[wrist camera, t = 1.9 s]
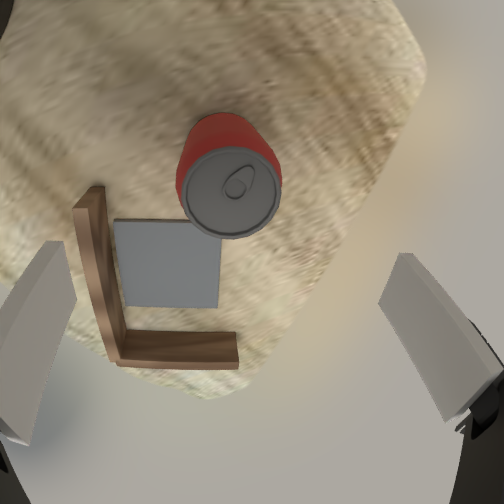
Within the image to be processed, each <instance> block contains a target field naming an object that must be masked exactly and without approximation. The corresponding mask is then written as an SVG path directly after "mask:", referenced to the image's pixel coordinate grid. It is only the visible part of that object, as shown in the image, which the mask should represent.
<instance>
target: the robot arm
mask: <svg viewBox="0 0 504 504" xmlns="http://www.w3.org/2000/svg"><path fill="white" fill-rule="evenodd" d="M12 4H13V0H0V37H1V35H2V33H3V31H4V28H5V26H6V23H7V21H8V18H9V15H10V12H11V8H12ZM76 301H77V297H76V294H75V290H74V286H73V282H72V278H71V274H70V270H69V266H68V261H67V257H66V252H65V248H64V243H63V241H46V242H45V243H44V244H43V246H42V247H41V248H40V250H39V251H38V252H37V254H36V255H35V257H34V258H33V259H32V261H31V262H30V264H29V265H28V267H27V268H26V270H25V271H24V272H23V274H22V275H21V277H20V278H19V280H18V281H17V283H16V285H15V286H14V288H13V289H12V291H11V292H10V294H9V296H8V297H7V299H6V300H5V302H4V304H3V305H2V307H1V309H0V431H1V432H2V433H3V434H4V435H5V436H6V437H7V438H8V439H9V440H11V441H14V442H17V443H20V444H23V445H26V446H30V441H31V436H32V433H33V428H34V424H35V421H36V417H37V413H38V409H39V405H40V402H41V399H42V395H43V391H44V388H45V385H46V382H47V379H48V376H49V373H50V370H51V367H52V364H53V361H54V358H55V355H56V352H57V349H58V346H59V344H60V341H61V338H62V336H63V333H64V331H65V328H66V325H67V323H68V320H69V318H70V316H71V313H72V311H73V308H74V306H75V304H76ZM378 304H379V306H380V307H381V309H382V311H383V312H384V314H385V315H386V317H387V319H388V320H389V322H390V324H391V325H392V327H393V329H394V330H395V332H396V334H397V335H398V337H399V339H400V341H401V342H402V344H403V346H404V347H405V349H406V351H407V353H408V354H409V356H410V358H411V360H412V361H413V363H414V365H415V367H416V369H417V371H418V372H419V374H420V376H421V378H422V380H423V381H424V383H425V385H426V387H427V389H428V391H429V393H430V395H431V396H432V398H433V400H434V402H435V404H436V406H437V408H438V410H439V412H440V414H441V416H442V418H443V420H444V422H445V423H447V422H450V421H452V420H455V419H457V418H459V417H460V416H461V415H462V414H463V413H464V412H465V411H466V410H467V409H468V408H469V409H470V411H471V413H470V414H469V415H468V416H467V417H466V418H465V419H464V420H463V421H462V422H461V423H460V424H459V425H458V426H456V429H455V431H456V432H457V431H458V430H459V429H461V427H463V426H464V425H466V426H465V427H464V428H463V429H462V430H461V432H460V433H462V434H464V439H463V445H462V451H461V457H460V462H459V467H458V471H457V476H456V480H455V484H454V488H453V492H452V496H451V499H450V503H449V504H504V365H503V363H502V362H501V360H500V359H499V357H498V356H497V354H496V353H495V352H494V350H493V349H492V348H491V346H490V345H489V343H487V341H486V339H485V338H484V337H483V336H481V332H480V331H479V330H478V329H477V327H476V326H475V324H473V323H472V322H471V321H470V320H469V319H468V318H467V317H466V316H465V315H464V313H463V312H462V311H461V310H460V308H459V307H458V306H457V305H456V303H455V302H454V301H453V300H452V299H451V297H450V296H449V295H448V294H447V292H446V291H445V290H444V289H443V288H442V286H441V285H440V284H439V283H438V282H437V280H435V278H434V277H433V276H432V275H431V274H430V272H429V271H428V270H427V269H426V268H425V267H424V266H423V265H422V263H421V262H420V261H419V260H418V259H417V258H416V257H415V256H414V254H411V253H399V255H398V257H397V260H396V262H395V265H394V267H393V270H392V272H391V275H390V277H389V279H388V282H387V284H386V287H385V289H384V291H383V293H382V296H381V298H380V300H379V303H378ZM0 504H31V503H30V501H29V499H28V497H27V496H26V493H25V492H24V490H23V488H22V486H21V484H20V482H19V480H18V478H17V476H16V474H15V472H14V469H13V467H12V465H11V463H10V461H9V458H8V456H7V454H6V451H5V449H4V446H3V444H2V443H1V441H0Z"/></svg>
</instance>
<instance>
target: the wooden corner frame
mask: <svg viewBox="0 0 504 504" xmlns="http://www.w3.org/2000/svg"><path fill="white" fill-rule="evenodd" d="M72 211H73V217H74V223H75V229H76V235H77V240H78V246H79V251H80V256H81V260H82V265H83V269H84V274H85V278H86V282H87V286H88V290H89V294H90V298H91V302H92V306H93V309H94V313H95V316H96V320H97V323H98V326H99V330H100V333H101V336H102V339H103V342H104V345H105V348H106V351H107V354H108V357H109V360H110V362H115V363H116V364H117V366H120V367H134V368H152V369H178V370H235V369H238V367H239V357H238V350H237V342H236V334H235V332H171V331H144V330H127V329H126V325H125V321H124V316H123V311H122V306H121V302H120V296H119V291H118V286H117V280H116V275H115V269H114V263H113V256H112V249H111V242H110V235H109V227H108V218H107V209H106V199H105V187H90V189H89V190H88V191H87V192H86V193H85V194H84V195H83V196H82V198H81V199H80V200H79V201H78V202H77V203H76V205H75V206H74V207H73V208H72Z"/></svg>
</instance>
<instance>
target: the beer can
mask: <svg viewBox="0 0 504 504" xmlns="http://www.w3.org/2000/svg"><path fill="white" fill-rule="evenodd" d="M281 187H282V176H281V169H280V164H279V162H278V160H277V158H276V156H275V154H274V152H273V150H272V149H271V148H270V146H269V145H268V144H267V143H266V142H265V140H264V139H263V138H262V137H261V136H260V134H259V133H258V132H257V131H256V130H255V128H254V127H253V126H252V125H251V124H250V123H249V122H247V121H246V120H245V119H244V118H242V117H240V116H237V115H235V114H231V113H217V114H212V115H209V116H207V117H205V118H204V119H202V120H200V121H199V122H198V123H197V124H196V125H195V126H194V127H193V128H192V129H191V131H190V134H189V136H188V138H187V140H186V143H185V146H184V149H183V152H182V155H181V158H180V161H179V164H178V167H177V171H176V190H177V194H178V197H179V201H180V203H181V206H182V207H183V209H184V212H185V214H186V216H187V217H188V218H189V220H190V221H191V223H192V224H193V225H194V226H195V227H196V228H198V229H199V230H201V231H202V232H203V233H205V234H207V235H210V236H213V237H216V238H218V239H238V238H243V237H247V236H250V235H252V234H254V233H255V232H257V231H259V230H261V229H262V228H263V227H264V226H265V225H266V224H267V223H268V222H270V221H271V220H272V218H273V216H274V214H275V213H276V211H277V209H278V207H279V203H280V198H281Z"/></svg>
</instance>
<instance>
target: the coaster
mask: <svg viewBox="0 0 504 504" xmlns="http://www.w3.org/2000/svg"><path fill="white" fill-rule="evenodd" d="M113 227H114V236H115V244H116V251H117V258H118V265H119V271H120V277H121V283H122V289H123V295H124V300H125V305H126V306H140V307H169V308H217V306H218V287H219V270H220V253H221V239H218V238H216V237H213V236H210V235H207V234H205V233H203V232H202V231H201V230H199V229H198V228H196V227H195V226H194V225H193V224H192V223H191V221H190V220H139V219H114V221H113Z"/></svg>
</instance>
